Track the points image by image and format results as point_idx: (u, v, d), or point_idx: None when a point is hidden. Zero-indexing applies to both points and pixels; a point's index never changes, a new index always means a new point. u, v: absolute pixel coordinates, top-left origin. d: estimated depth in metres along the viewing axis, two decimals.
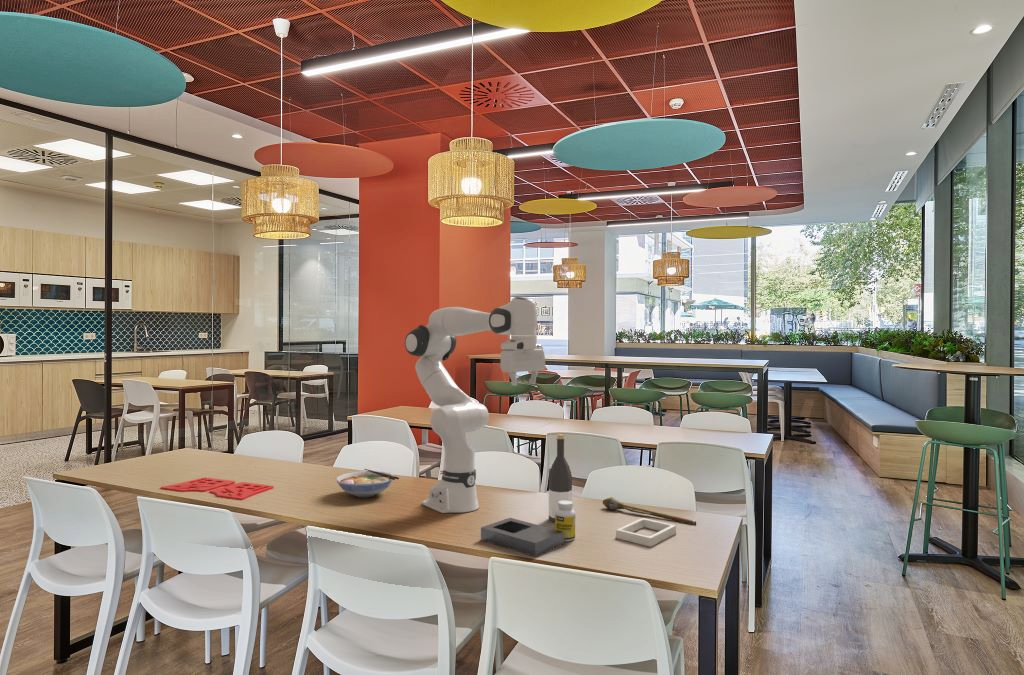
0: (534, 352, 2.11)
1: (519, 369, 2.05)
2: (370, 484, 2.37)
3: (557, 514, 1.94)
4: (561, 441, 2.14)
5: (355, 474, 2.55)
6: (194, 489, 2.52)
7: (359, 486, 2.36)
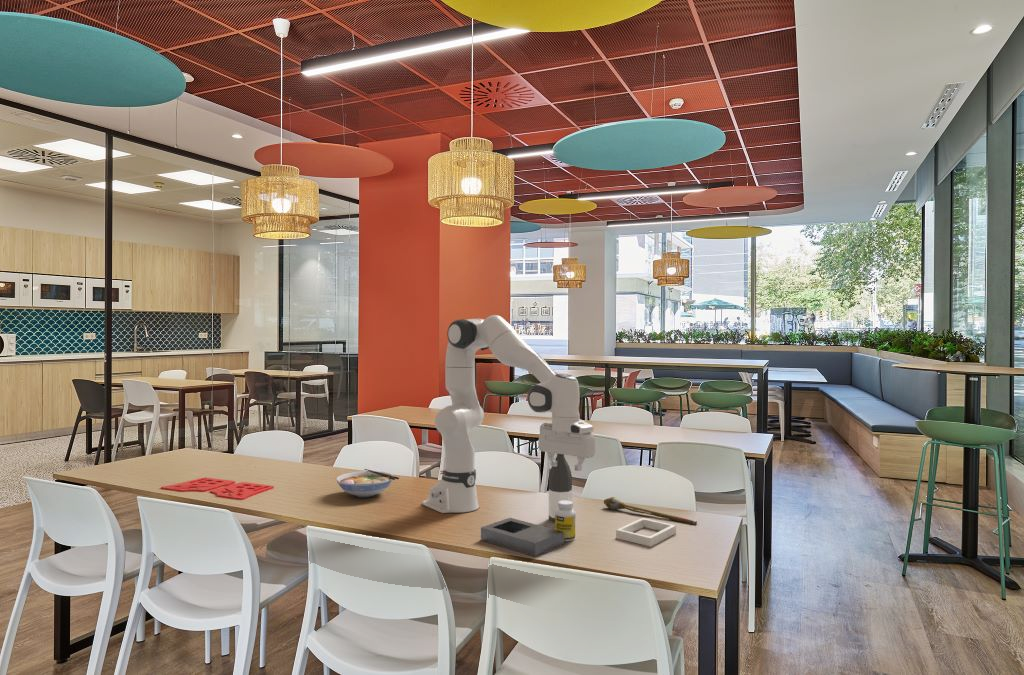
0: None
1: None
2: (370, 484, 2.37)
3: (557, 514, 1.94)
4: None
5: (355, 474, 2.55)
6: (194, 489, 2.52)
7: (359, 486, 2.36)
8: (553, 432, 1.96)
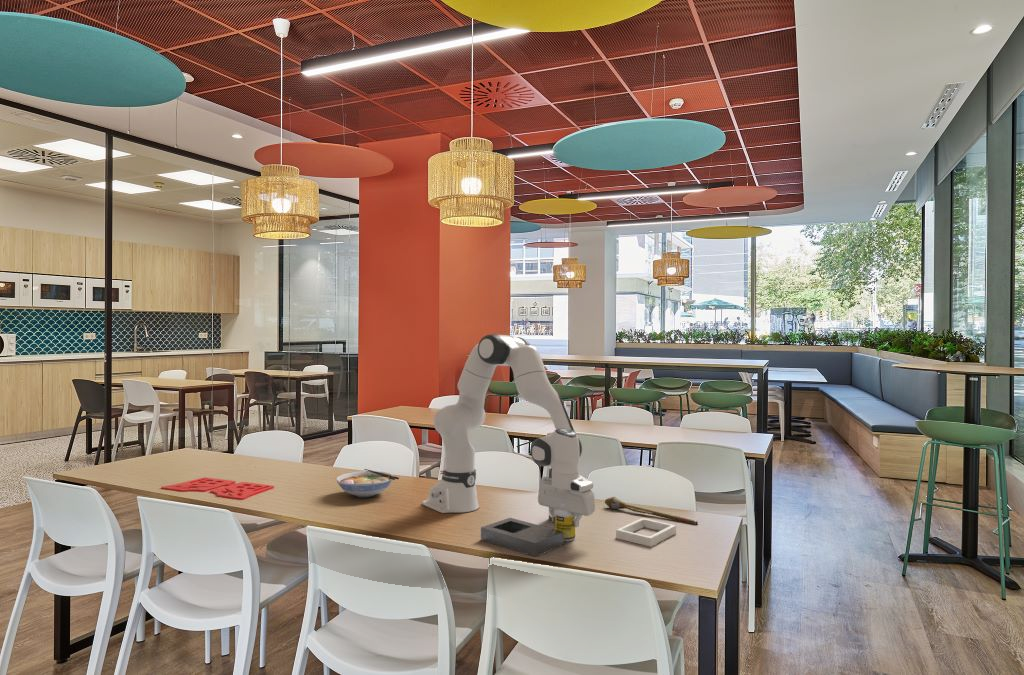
0: None
1: None
2: (370, 484, 2.37)
3: (557, 514, 1.94)
4: None
5: (355, 474, 2.55)
6: (195, 489, 2.52)
7: (359, 486, 2.36)
8: (553, 487, 1.97)
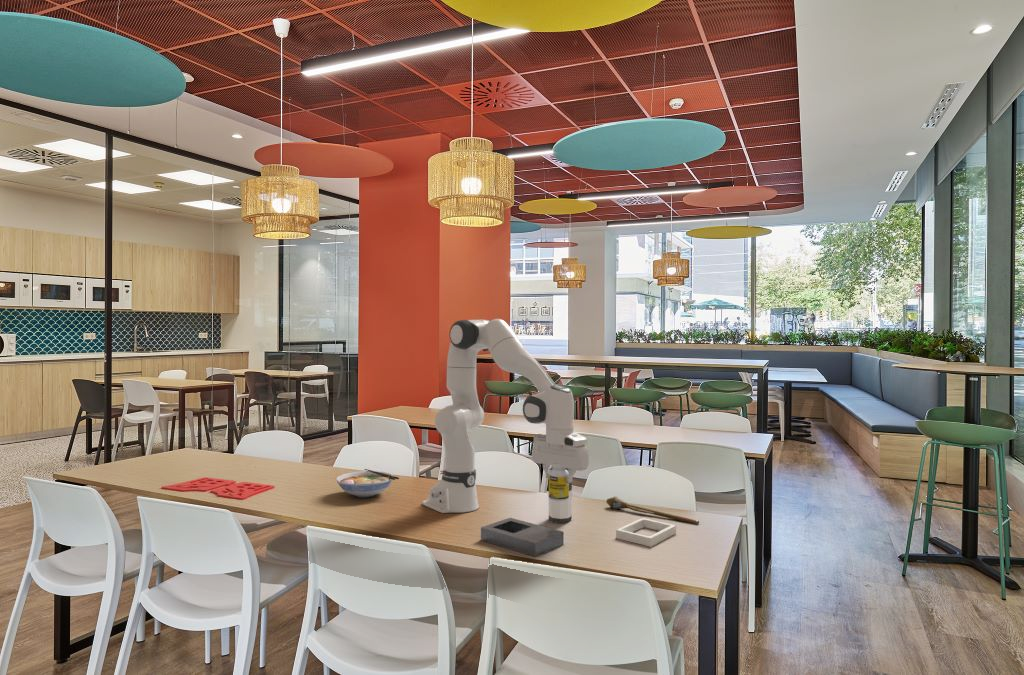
0: None
1: None
2: (370, 484, 2.37)
3: (551, 474, 1.94)
4: None
5: (355, 474, 2.55)
6: (195, 489, 2.52)
7: (359, 486, 2.36)
8: (547, 444, 1.97)
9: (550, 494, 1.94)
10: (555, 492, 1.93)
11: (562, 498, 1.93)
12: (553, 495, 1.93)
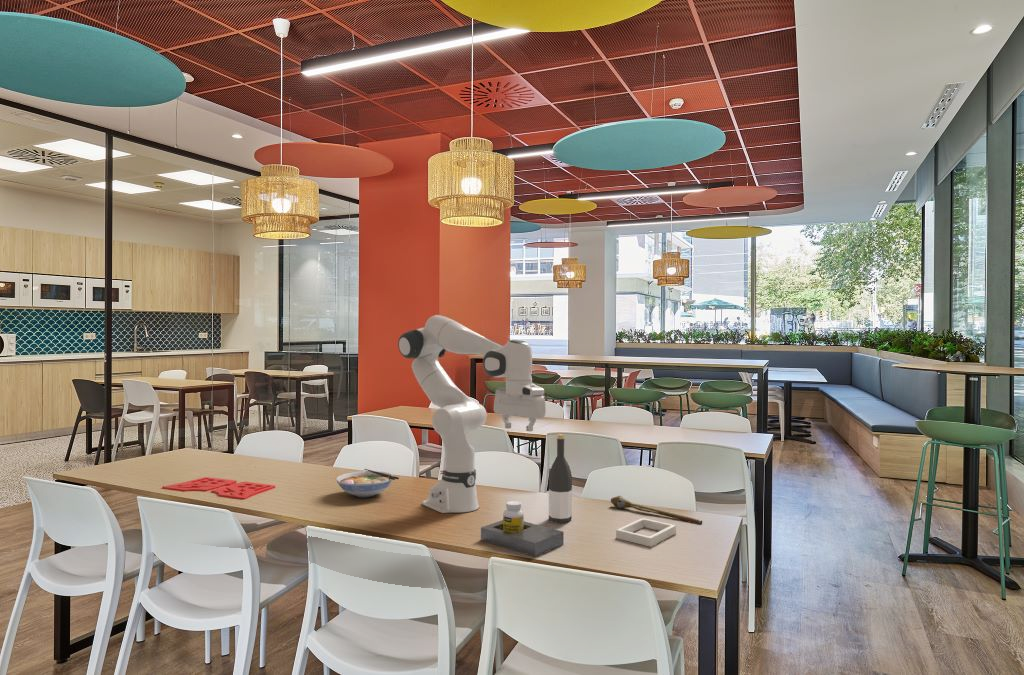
0: None
1: None
2: (370, 484, 2.37)
3: (505, 515, 1.93)
4: (561, 441, 2.14)
5: (355, 474, 2.55)
6: (196, 489, 2.53)
7: (359, 486, 2.36)
8: (507, 395, 2.07)
9: None
10: None
11: None
12: None
